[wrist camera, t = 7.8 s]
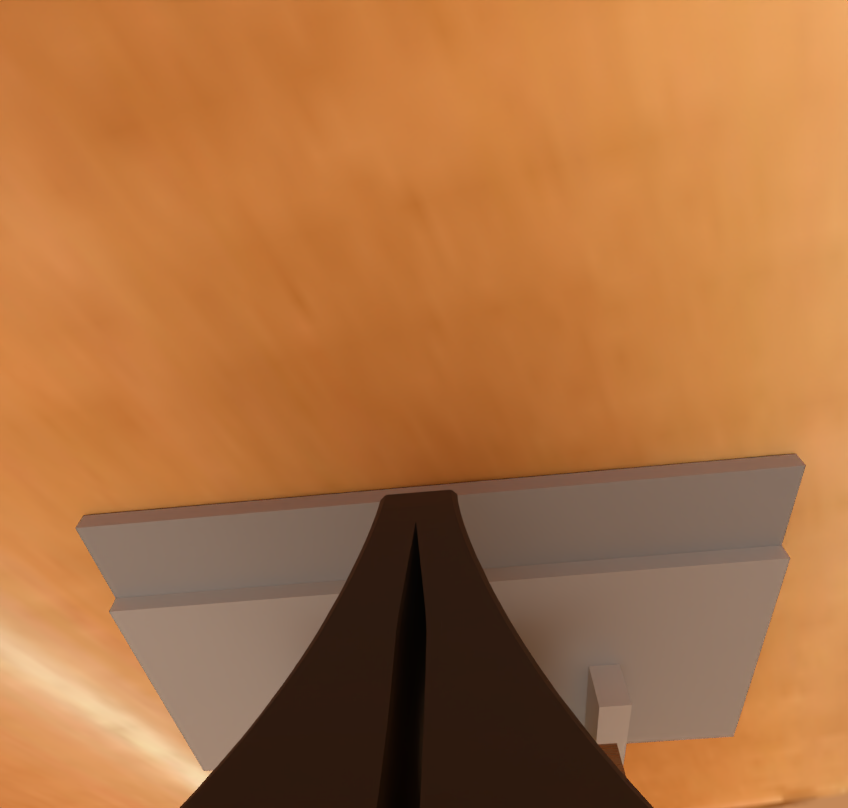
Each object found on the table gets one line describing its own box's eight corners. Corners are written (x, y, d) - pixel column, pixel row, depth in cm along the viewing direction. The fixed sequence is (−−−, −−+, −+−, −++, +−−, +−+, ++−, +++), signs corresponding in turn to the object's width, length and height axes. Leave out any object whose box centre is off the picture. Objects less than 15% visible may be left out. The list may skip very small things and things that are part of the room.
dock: (796, 453, 17) (872, 547, 14) (722, 710, 24) (763, 807, 21) (83, 515, 18) (19, 614, 15) (210, 744, 25) (184, 841, 22)
